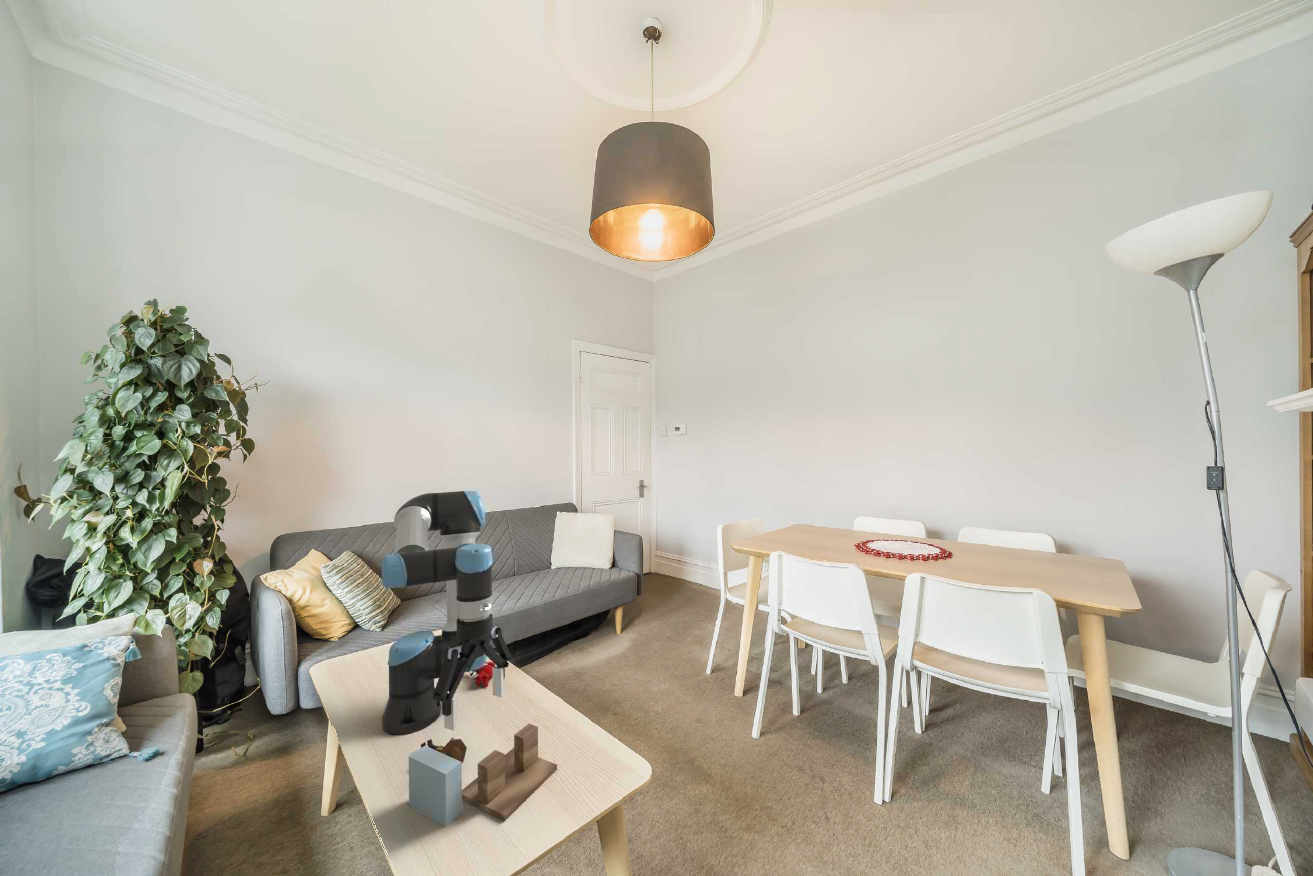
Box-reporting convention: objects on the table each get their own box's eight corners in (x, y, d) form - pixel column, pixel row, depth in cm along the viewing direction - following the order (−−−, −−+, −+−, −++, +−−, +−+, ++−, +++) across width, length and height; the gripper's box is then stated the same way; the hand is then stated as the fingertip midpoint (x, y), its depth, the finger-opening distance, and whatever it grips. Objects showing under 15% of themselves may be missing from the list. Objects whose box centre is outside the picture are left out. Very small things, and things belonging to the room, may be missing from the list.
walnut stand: (458, 798, 105) (458, 757, 105) (514, 752, 120) (513, 716, 120) (504, 821, 98) (504, 777, 98) (557, 769, 113) (556, 731, 113)
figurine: (474, 667, 163) (504, 678, 156) (453, 683, 156) (484, 695, 148) (470, 650, 162) (501, 661, 154) (449, 666, 155) (480, 678, 147)
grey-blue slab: (409, 806, 102) (408, 756, 102) (425, 793, 106) (424, 745, 106) (446, 826, 97) (445, 774, 97) (461, 812, 100) (461, 762, 100)
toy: (442, 723, 125) (473, 730, 117) (446, 752, 125) (477, 761, 116) (406, 742, 118) (436, 751, 109) (409, 773, 117) (440, 785, 108)
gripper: (438, 641, 91) (440, 749, 91) (526, 600, 113) (526, 687, 113) (412, 634, 94) (413, 739, 94) (502, 595, 116) (503, 680, 116)
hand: (475, 711), depth 103 cm, fingers open, 13 cm apart
